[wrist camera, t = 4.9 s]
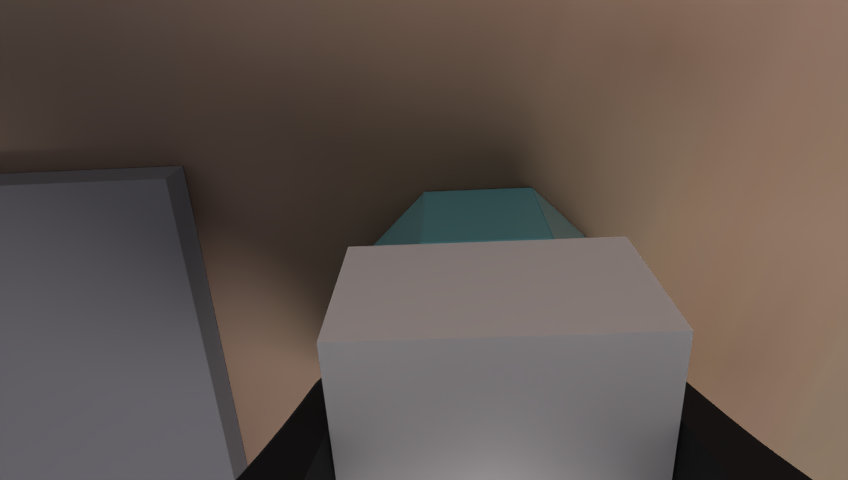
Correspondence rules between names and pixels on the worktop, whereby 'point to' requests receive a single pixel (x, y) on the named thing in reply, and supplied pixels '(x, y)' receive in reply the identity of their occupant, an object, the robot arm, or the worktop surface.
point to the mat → (109, 332)
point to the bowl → (479, 218)
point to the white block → (503, 363)
